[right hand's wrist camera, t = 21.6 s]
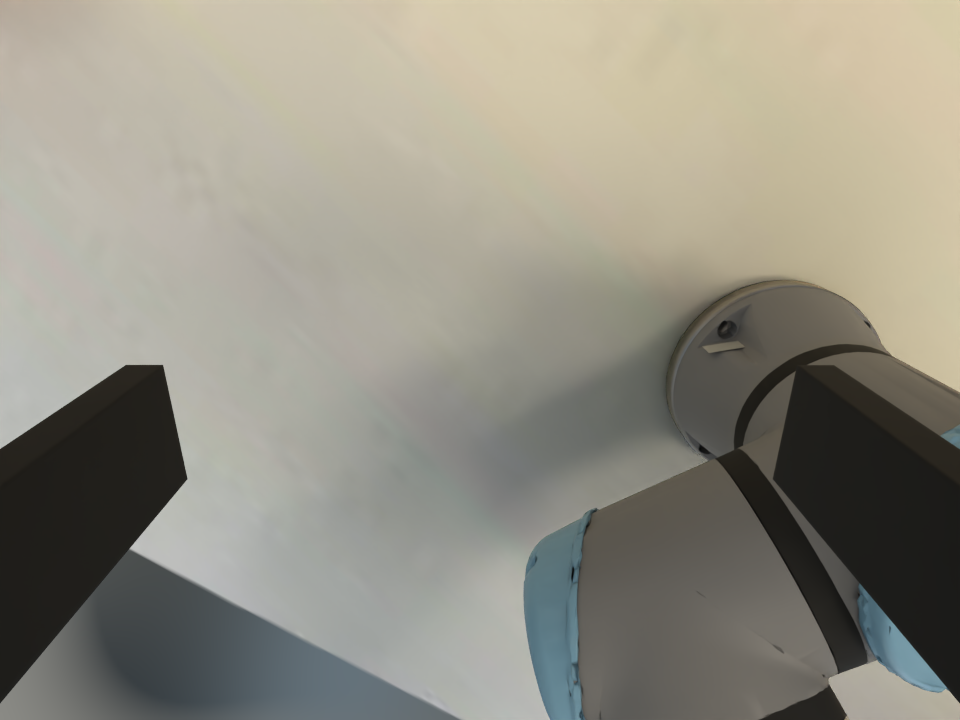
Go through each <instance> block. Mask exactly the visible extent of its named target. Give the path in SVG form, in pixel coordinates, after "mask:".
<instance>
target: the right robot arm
mask: <svg viewBox="0 0 960 720" xmlns="http://www.w3.org/2000/svg"><path fill="white" fill-rule="evenodd" d="M666 395H667V402H668V406H669V410H670V413H671V416H672V418H673V420H674V422H675V424H676V426H677V427H678V429H679V430H680V432H681V433H682V435H683V436H684V438H685V439H686V441H687V442H688V443H689V445H690V446H691V447H692V448H693V449H694V450H695V451H696V452H697V453H699V454H700V455H701V456H702V457H704V458H705V459H707V460H708V462H706V463H703V464H701V465H699V466H697V467H694V468H692V469H690V470H688V471H685V472H683V473H681V474H679V475H676V476H674V477H672V478H670V479H667V480H665V481H663V482H661V483H659V484H656V485H654V486H652V487H650V488H647V489H645V490H643V491H641V492H638V493H636V494H634V495H632V496H629V497H627V498H625V499H623V500H620V501H618V502H616V503H614V504H611V505H609V506H607V507H605V508H603V509H600V510H599V509H597V508H595V509H591V510H589V511H588V512H586V513H585V514H584V516H583V517H582V518H581V519H579V520H577V521H575V522H573V523H571V524H569V525H567V526H565V527H564V528H562V529H560V530H558V531H556V532H554V533H552V534H550V535H548V536H546V537H545V538H543V539H542V540H541V541H540V542H539V543H538V544H537V545H536V547H535V548H534V549H533V551H532V553H531V555H530V557H529V560H528V563H527V567H526V574H525V581H524V613H525V623H526V631H527V638H528V644H529V649H530V654H531V659H532V663H533V667H534V672H535V675H536V679H537V683H538V686H539V690H540V693H541V696H542V700H543V703H544V706H545V708H546V711H547V713H548V716H549V718H550V720H849V718H848V716H847V714H846V713H845V711H844V710H843V708H842V706H841V704H840V703H839V701H838V699H837V697H836V696H835V694H834V692H833V690H832V689H831V687H830V685H829V683H828V679H829V677H832V676H834V675H836V674H839V673H842V672H844V671H847V670H850V669H853V668H855V667H858V666H861V665H864V664H868V663H870V662H873V661H875V660H878V662H879V663H881V664H882V665H884V666H885V667H886V668H887V669H888V671H890V672H892V673H894V674H896V675H897V676H899V677H901V678H902V679H903V680H904V681H906V682H908V683H910V684H912V685H913V686H916V687H919V688H921V689H923V690H927V691H931V692H937V693H939V692H942V691H943V690H945V689H947V690H949V691H950V692H951V693H952V694H953V696H954V697H955V698H956V699H957V700H958V702H959V703H960V393H959V392H958V391H956V390H954V389H952V388H950V387H948V386H947V385H945V384H943V383H941V382H939V381H937V380H935V379H934V378H932V377H930V376H928V375H926V374H924V373H922V372H921V371H919V370H917V369H915V368H913V367H911V366H910V365H908V364H906V363H904V362H902V361H900V360H898V359H896V358H894V357H893V356H891V355H890V353H889V352H888V351H887V350H886V349H885V348H884V346H883V345H882V344H881V341H880V339H879V337H878V335H877V333H876V331H875V329H874V328H873V326H872V325H871V323H870V322H869V321H868V319H867V318H866V317H865V316H864V315H863V313H862V312H861V311H860V310H859V309H858V308H857V307H855V306H854V305H853V304H852V303H851V302H849V301H848V300H846V299H845V298H843V297H841V296H839V295H837V294H835V293H833V292H831V291H828V290H826V289H824V288H822V287H819V286H816V285H814V284H810V283H806V282H800V281H790V280H779V281H769V282H763V283H758V284H754V285H751V286H748V287H745V288H742V289H740V290H737V291H735V292H733V293H731V294H729V295H727V296H725V297H723V298H722V299H720V300H719V301H717V302H716V303H714V304H713V305H711V306H710V307H709V308H708V309H706V310H705V311H704V312H703V313H702V314H701V315H700V316H699V317H697V319H696V320H695V321H694V322H693V323H692V324H691V325H690V326H689V328H688V329H687V330H686V332H685V333H684V335H683V336H682V338H681V339H680V341H679V343H678V345H677V347H676V348H675V350H674V353H673V355H672V358H671V361H670V364H669V368H668V373H667V381H666ZM186 480H187V475H186V470H185V466H184V461H183V456H182V452H181V447H180V442H179V438H178V433H177V428H176V424H175V419H174V414H173V409H172V405H171V400H170V395H169V391H168V386H167V381H166V377H165V372H164V367H163V365H125V366H124V367H122V368H121V369H119V370H118V371H116V372H115V373H113V374H112V375H110V376H109V377H107V378H106V379H104V380H103V381H101V382H100V383H98V384H97V385H95V386H94V387H92V388H91V389H89V390H88V391H86V392H85V393H83V394H82V395H80V396H79V397H77V398H76V399H74V400H73V401H72V402H70V403H69V404H67V405H66V406H64V407H63V408H61V409H60V410H58V411H57V412H55V413H54V414H52V415H51V416H49V417H48V418H46V419H45V420H43V421H42V422H40V423H39V424H37V425H36V426H34V427H33V428H31V429H30V430H28V431H27V432H25V433H24V434H22V435H21V436H19V437H18V438H16V439H15V440H13V441H12V442H10V443H9V444H7V445H6V446H4V447H3V448H1V449H0V703H1V702H2V700H3V699H4V698H5V697H6V696H7V694H8V693H9V692H10V691H11V690H12V688H13V687H14V686H15V685H16V684H17V683H18V681H19V680H20V679H21V678H22V677H23V675H24V674H25V673H26V672H27V671H28V669H29V668H30V667H31V666H32V665H33V663H34V662H35V661H36V660H37V659H38V657H39V656H40V655H41V654H42V652H43V651H44V650H45V649H46V648H47V646H48V645H49V644H50V643H51V642H52V641H53V639H54V638H55V637H56V636H57V635H58V633H59V632H60V631H61V630H62V629H63V627H64V626H65V625H66V624H67V623H68V621H69V620H70V619H71V618H72V617H73V615H74V614H75V613H76V612H77V611H78V609H79V608H80V607H81V606H82V605H83V603H84V602H85V601H86V600H87V599H88V597H89V596H90V595H91V594H92V593H93V591H94V590H95V589H96V588H97V587H98V586H99V584H100V583H101V582H102V581H103V580H104V578H105V577H106V576H107V575H108V574H109V572H110V571H111V570H112V569H113V568H114V566H115V565H116V564H117V563H118V561H119V560H120V559H121V558H122V557H123V555H124V554H125V553H126V552H127V551H128V550H129V548H130V547H131V546H132V545H133V544H134V542H135V541H136V540H137V539H138V538H139V536H140V535H141V534H142V533H143V532H144V530H145V529H146V528H147V527H148V526H149V524H150V523H151V522H152V521H153V520H154V518H155V517H156V516H157V515H158V514H159V512H160V511H161V510H162V509H163V508H164V506H165V505H166V504H167V503H168V502H169V500H170V499H171V498H172V497H173V496H174V494H175V493H176V492H177V491H178V490H179V488H180V487H181V486H182V485H183V484H184V483H185V481H186Z"/></svg>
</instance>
